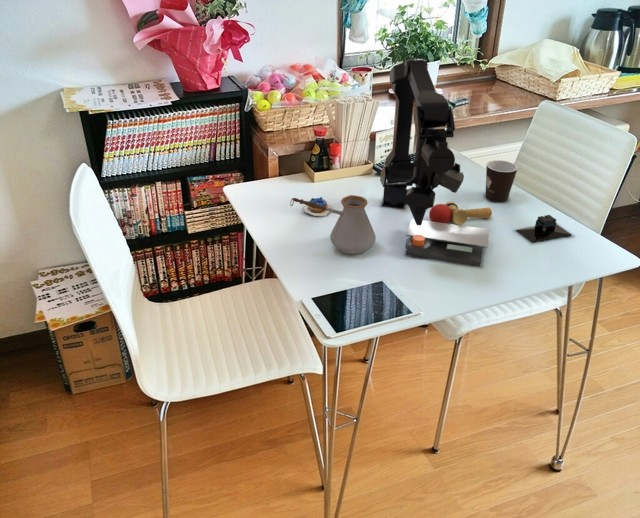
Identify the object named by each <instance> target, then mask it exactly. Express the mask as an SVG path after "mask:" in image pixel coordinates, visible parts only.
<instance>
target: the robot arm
mask: <svg viewBox="0 0 640 518" xmlns="http://www.w3.org/2000/svg"><path fill="white" fill-rule="evenodd" d="M428 69H429V65H428V60H427V59H424V58H409V59H407V60H405V61H404V62H401V63H398V64H395V65H393V66H392V68H391V69H390V70H389V84H390V87H391V88H390V89H391V90H392V91H393V94H394V96H395V97H396V99H395V112H394V113H395V114H394V122H393V123H394V124H393V135H392V149H391V151H390V152H389V154H388V155H387V156H386V157H385V162H384V166H383V167H382V169H381V171H380V173H379V178H380V179H379V180H380V184H381V186H382V187H383V195H382V202H381V207H386V208H394V209H400V210H402V209H403V210H404V209H405V208H406V206H408V208H409V211H410V212H411V215H412V217H413V219H414V220H415V223H416V225H419V226H421V224H422V221H423V220H424V218H425V215H426V212H427V210H428V209H431V208H432V207H433V206H435V205H434V204H435V200H436V192H435V191H434V190H435V189H436V188H438V187H439V186H440V187H443V188H445V189H447V190H449V191H450V192H451V193H454V194H457V192H458V191H459V189H460V188H461V186H462V184H463V182H464V178H465V174H464V172H463V171H461V164H460V163H457V162H456V157H455V154H454V152H453V150H451V148H450V147H449V146H448V144H449V143H448V141H447V138H454V135H455V134H454V131H455V130H456V126H455V119H454V112H453V110H452V106H451V105H450V104H449V102H448V100H447V98H446V97H445V96H444V95H443V94H441V93H438V92H437V90H436V88H435V85H434V82H433V80H432V77H431V75H430V72H429V70H428ZM414 103H415V104H414ZM414 105H415V106H414ZM413 124H414V128H415V134H416V142H415V143H416V144H415V152H414V153H415V155H414V159H413V160H412V158H411V156H410V145H411V133H412V125H413ZM413 185H414V186H413ZM409 187H410V188H409Z"/></svg>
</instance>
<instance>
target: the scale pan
mask: <svg viewBox="0 0 640 518" xmlns="http://www.w3.org/2000/svg"><path fill="white" fill-rule="evenodd" d="M414 235H422V236H424V237H425V239H430V240H437V241H444V242H451V243H458V244H465V245H472V246H478V247H483V248H489V238H490V229H489V228H482V227H475V226H467V225H456V224H454V223H448V224H447V223H440V222H432V221H431V220H425V219H423V221H422V224H421V226H419V225H416V223H415V220H414V218H411V220H410V221H409V225H408V227H407V229H406V234H405V236H406V237H409V238H411V237H413V236H414Z"/></svg>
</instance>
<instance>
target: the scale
mask: <svg viewBox="0 0 640 518" xmlns="http://www.w3.org/2000/svg"><path fill="white" fill-rule="evenodd" d="M412 238H413V237H409V238H407V239H406V241H405V247H404V248H405V256H408V257H415V258H420V259H428V260H434V261H441V262H446V263H447V262H448V263H453V264H460V265H467V266H473V267H481V265H482V259H483V250H484V247H478V246H472V245H465V244H458V243H451V242H444V241H437V240H430V239H425V242H424V245H423V246H414V245H413V244H412ZM447 244H451V245H458V246H464V247H471V248H472V253H470V252H463V251H456V250H450V249H446V248H447Z"/></svg>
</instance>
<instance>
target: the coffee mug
mask: <svg viewBox="0 0 640 518" xmlns="http://www.w3.org/2000/svg"><path fill="white" fill-rule="evenodd" d="M485 167H486V170H485V171H486V173H485V196H484V197H485V199H486V200H488V201H490V202H492V203H506V202H507V201H508V199H509V198H510V197H509V196H510V194H511V190H512V187H513V185H514V184H513V183H514V182H515V178H516V175H517V172H518V169H519V168H518V165H516V164H515V163H514V162H511V161H508V160H503V159H501V160H499V159H496V160H491V161H487V163H486V166H485Z"/></svg>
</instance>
